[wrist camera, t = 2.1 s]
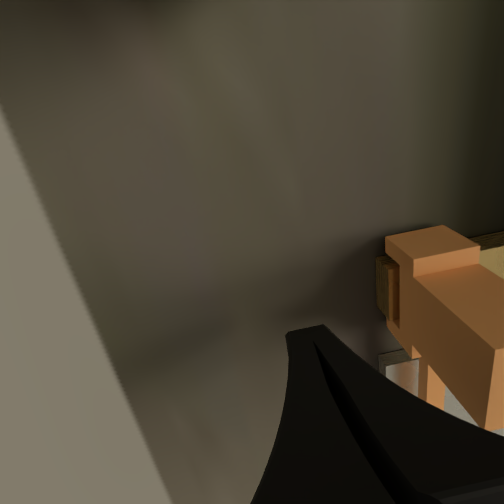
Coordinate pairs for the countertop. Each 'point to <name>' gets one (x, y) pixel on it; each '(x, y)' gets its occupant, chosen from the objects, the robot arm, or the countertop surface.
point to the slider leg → (451, 321)
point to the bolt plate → (406, 376)
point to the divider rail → (388, 272)
